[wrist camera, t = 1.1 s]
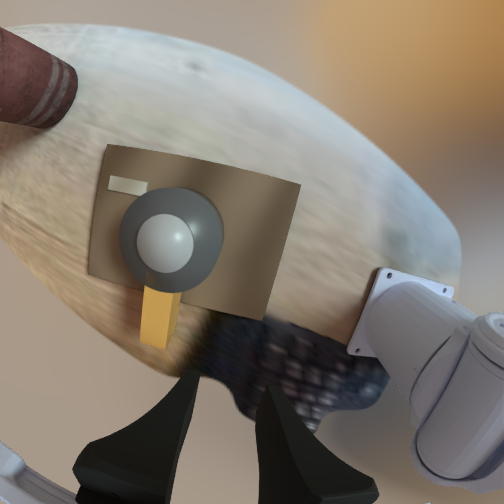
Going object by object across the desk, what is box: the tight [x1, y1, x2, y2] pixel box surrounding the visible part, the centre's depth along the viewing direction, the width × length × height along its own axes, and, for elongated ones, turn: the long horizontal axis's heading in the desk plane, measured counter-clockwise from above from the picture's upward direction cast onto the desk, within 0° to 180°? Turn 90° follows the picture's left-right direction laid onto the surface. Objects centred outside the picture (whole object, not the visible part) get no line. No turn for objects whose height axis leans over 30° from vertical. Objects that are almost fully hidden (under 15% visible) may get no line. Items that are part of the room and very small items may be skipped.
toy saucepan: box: [119, 187, 224, 349], centre depth 16 cm, size 10×6×4 cm, turn 166°
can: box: [0, 27, 78, 128], centre depth 9 cm, size 6×6×14 cm
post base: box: [88, 144, 301, 321], centre depth 18 cm, size 14×10×1 cm
